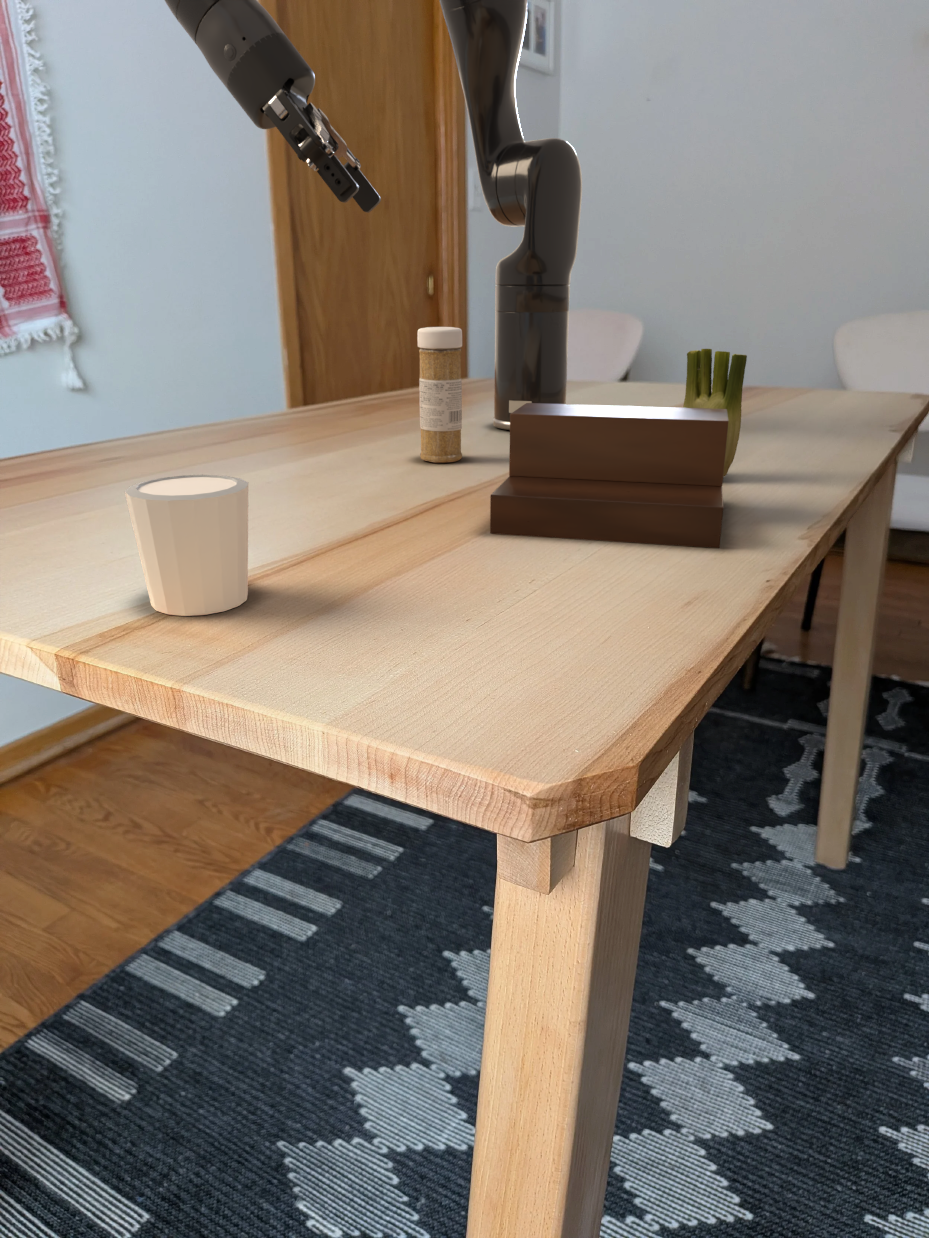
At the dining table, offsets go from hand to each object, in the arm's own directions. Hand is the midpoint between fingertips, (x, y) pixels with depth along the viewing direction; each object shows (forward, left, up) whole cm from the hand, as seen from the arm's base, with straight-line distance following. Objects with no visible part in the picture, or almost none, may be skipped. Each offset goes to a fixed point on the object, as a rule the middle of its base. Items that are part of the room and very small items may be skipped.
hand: (363, 202), depth 90 cm
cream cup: (+47, +6, -25) cm, 54 cm away
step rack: (+21, +28, -25) cm, 43 cm away
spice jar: (0, +8, -25) cm, 27 cm away
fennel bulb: (+3, +35, -25) cm, 43 cm away
